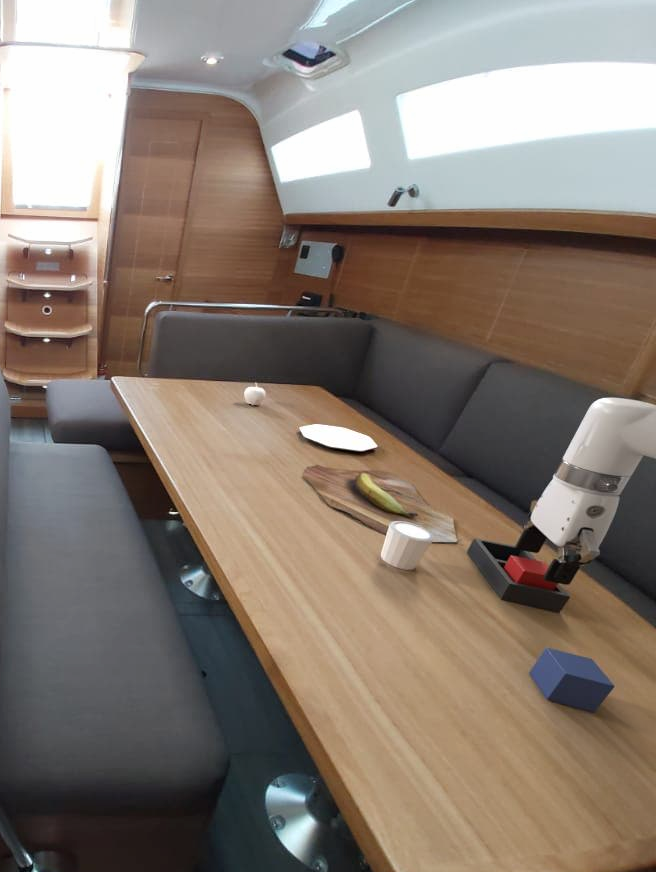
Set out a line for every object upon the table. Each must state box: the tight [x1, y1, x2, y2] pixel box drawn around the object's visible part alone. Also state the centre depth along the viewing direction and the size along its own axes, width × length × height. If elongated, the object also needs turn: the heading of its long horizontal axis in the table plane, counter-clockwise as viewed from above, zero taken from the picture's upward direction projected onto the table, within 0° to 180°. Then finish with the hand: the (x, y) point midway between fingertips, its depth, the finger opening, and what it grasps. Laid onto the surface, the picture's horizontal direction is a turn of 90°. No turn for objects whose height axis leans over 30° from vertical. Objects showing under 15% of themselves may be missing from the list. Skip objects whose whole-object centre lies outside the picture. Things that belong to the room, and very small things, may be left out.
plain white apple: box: [243, 382, 267, 406], centre depth 180 cm, size 7×7×8 cm
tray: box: [466, 537, 571, 613], centre depth 91 cm, size 8×15×4 cm, turn 158°
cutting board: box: [302, 464, 458, 543], centre depth 117 cm, size 35×27×4 cm
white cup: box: [380, 521, 434, 571], centre depth 94 cm, size 7×7×7 cm
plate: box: [298, 423, 379, 453], centre depth 151 cm, size 20×20×2 cm
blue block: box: [528, 647, 616, 713], centre depth 68 cm, size 5×5×5 cm
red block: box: [503, 555, 559, 591], centre depth 87 cm, size 5×5×5 cm
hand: (540, 565), depth 86 cm, fingers open, 9 cm apart
